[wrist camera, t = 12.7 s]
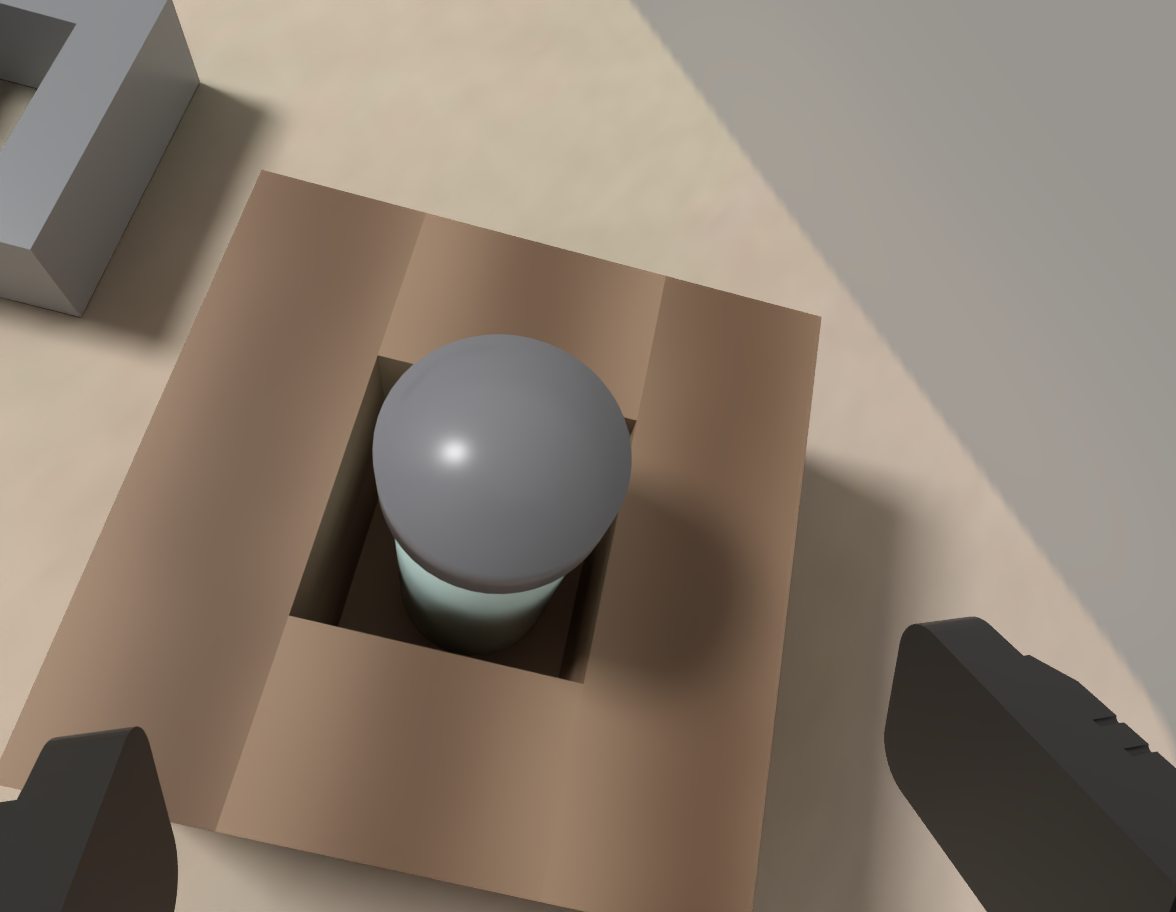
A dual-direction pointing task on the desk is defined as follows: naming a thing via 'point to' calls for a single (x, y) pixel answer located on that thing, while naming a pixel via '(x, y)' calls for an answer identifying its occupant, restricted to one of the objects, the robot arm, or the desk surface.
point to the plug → (495, 483)
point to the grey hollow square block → (83, 136)
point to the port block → (373, 591)
